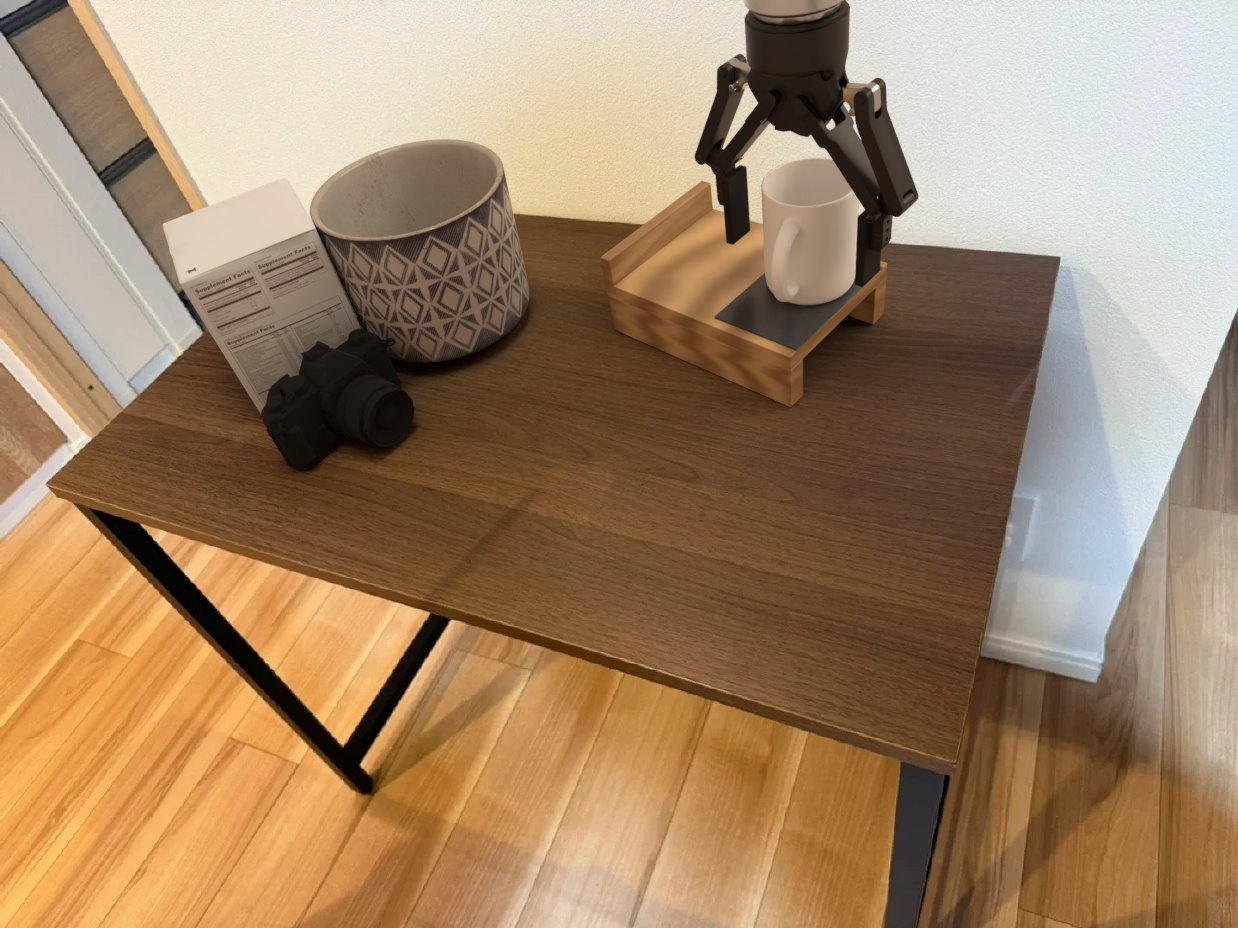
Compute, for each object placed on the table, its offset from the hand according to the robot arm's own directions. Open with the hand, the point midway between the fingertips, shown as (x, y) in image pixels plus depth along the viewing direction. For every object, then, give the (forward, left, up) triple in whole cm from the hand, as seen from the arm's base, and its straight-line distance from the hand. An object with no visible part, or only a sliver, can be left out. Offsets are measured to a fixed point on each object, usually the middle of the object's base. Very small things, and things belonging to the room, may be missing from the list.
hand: (799, 256), depth 78 cm
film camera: (+29, +33, -10) cm, 45 cm away
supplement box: (+43, +30, -10) cm, 54 cm away
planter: (+35, +16, -10) cm, 40 cm away
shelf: (+7, 0, -10) cm, 12 cm away
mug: (0, 0, -4) cm, 4 cm away
